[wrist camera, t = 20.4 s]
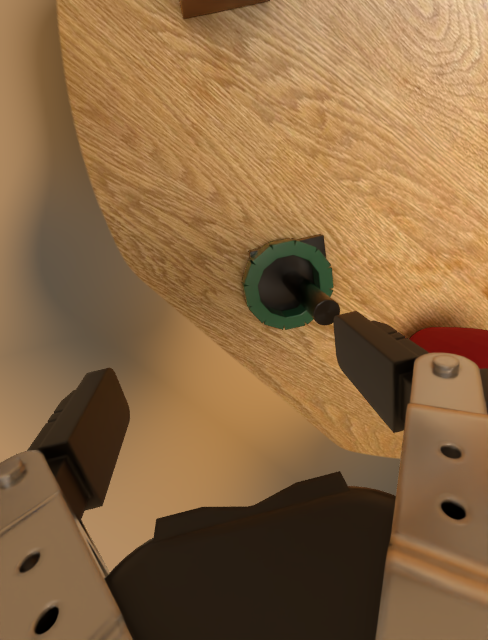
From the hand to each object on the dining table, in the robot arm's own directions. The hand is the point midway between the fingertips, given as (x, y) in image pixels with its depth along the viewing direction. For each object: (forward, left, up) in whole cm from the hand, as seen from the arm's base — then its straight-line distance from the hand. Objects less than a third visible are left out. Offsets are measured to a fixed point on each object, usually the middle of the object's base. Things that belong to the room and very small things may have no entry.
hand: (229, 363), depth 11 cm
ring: (+7, -6, -27) cm, 28 cm away
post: (+8, -6, -28) cm, 30 cm away
